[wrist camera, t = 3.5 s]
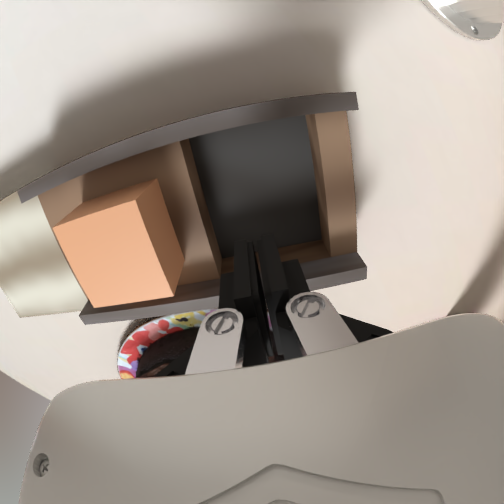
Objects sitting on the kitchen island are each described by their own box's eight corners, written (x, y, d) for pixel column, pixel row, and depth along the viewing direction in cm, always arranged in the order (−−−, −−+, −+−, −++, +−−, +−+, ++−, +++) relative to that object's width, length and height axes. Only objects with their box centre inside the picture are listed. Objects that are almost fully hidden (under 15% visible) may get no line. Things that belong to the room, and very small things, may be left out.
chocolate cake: (206, 437, 42) (204, 468, 36) (78, 346, 29) (60, 386, 23) (363, 391, 36) (374, 428, 30) (285, 246, 23) (299, 297, 17)
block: (82, 202, 17) (52, 227, 13) (157, 178, 16) (135, 199, 13) (113, 274, 20) (94, 307, 16) (184, 259, 19) (173, 296, 16)
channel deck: (-14, 210, 19) (-43, 231, 15) (328, 93, 17) (355, 92, 12) (31, 301, 25) (11, 329, 21) (344, 243, 23) (366, 278, 18)
